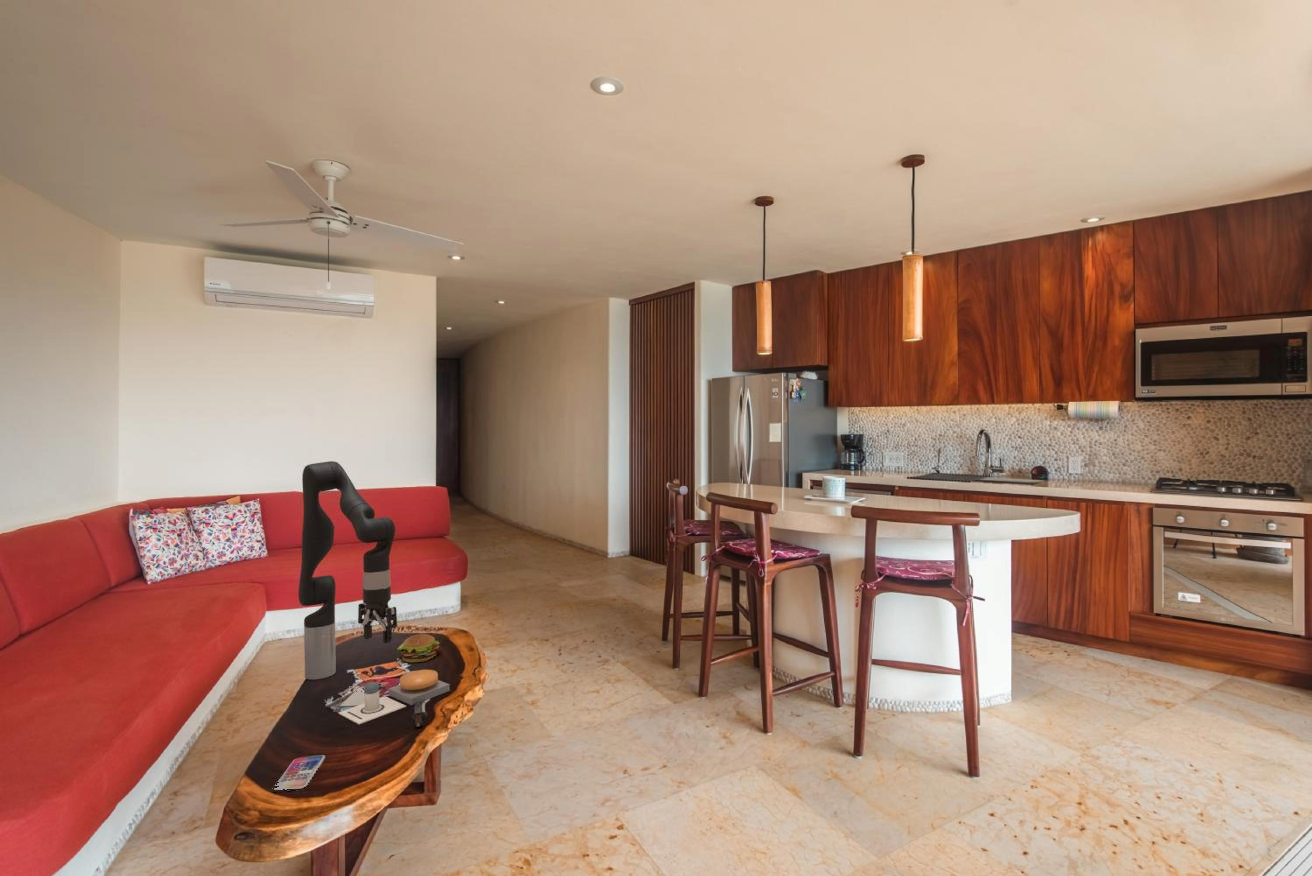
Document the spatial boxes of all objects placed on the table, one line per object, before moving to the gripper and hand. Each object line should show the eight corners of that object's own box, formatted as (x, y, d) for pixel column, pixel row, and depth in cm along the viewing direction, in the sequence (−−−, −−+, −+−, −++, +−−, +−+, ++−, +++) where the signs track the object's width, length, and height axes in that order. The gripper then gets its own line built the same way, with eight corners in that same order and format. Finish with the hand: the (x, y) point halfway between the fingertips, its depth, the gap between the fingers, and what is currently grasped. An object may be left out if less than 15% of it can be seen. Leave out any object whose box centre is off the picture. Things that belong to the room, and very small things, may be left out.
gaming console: (363, 681, 201) (394, 680, 202) (363, 683, 201) (394, 682, 202) (332, 711, 179) (367, 709, 180) (332, 713, 179) (367, 712, 179)
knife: (430, 695, 193) (413, 698, 191) (430, 689, 193) (413, 691, 191) (431, 727, 168) (411, 730, 167) (431, 719, 168) (411, 722, 167)
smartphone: (269, 791, 137) (294, 758, 152) (269, 796, 137) (294, 762, 152) (305, 786, 139) (326, 753, 153) (305, 791, 139) (326, 757, 153)
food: (416, 649, 233) (415, 628, 233) (446, 653, 228) (446, 631, 228) (388, 662, 220) (388, 639, 220) (420, 666, 215) (420, 643, 215)
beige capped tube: (361, 709, 179) (361, 685, 179) (375, 704, 183) (374, 680, 183) (368, 712, 177) (368, 688, 177) (382, 707, 180) (381, 683, 180)
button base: (388, 695, 190) (388, 688, 190) (426, 681, 201) (426, 675, 201) (411, 705, 182) (411, 698, 182) (449, 690, 193) (449, 684, 193)
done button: (393, 684, 191) (392, 678, 191) (425, 673, 199) (425, 667, 199) (412, 692, 184) (412, 686, 184) (444, 681, 193) (444, 674, 193)
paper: (338, 713, 178) (338, 712, 178) (384, 697, 189) (384, 695, 189) (359, 724, 170) (359, 723, 170) (405, 706, 182) (405, 705, 182)
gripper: (349, 586, 181) (350, 641, 181) (381, 590, 175) (382, 647, 175) (372, 580, 188) (372, 633, 188) (403, 585, 181) (404, 640, 181)
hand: (377, 640), depth 181 cm, fingers open, 8 cm apart
